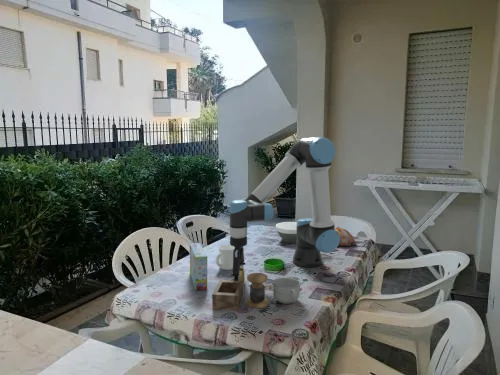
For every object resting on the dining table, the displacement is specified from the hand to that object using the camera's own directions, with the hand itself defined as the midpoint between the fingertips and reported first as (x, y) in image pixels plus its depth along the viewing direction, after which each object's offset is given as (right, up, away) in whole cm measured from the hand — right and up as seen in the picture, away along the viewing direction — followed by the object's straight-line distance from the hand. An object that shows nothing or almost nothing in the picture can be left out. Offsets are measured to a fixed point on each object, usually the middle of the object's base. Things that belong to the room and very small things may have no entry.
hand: (238, 284), depth 162 cm
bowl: (+31, +10, +67) cm, 74 cm away
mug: (-7, +2, +20) cm, 21 cm away
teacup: (+20, -3, -17) cm, 26 cm away
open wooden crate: (-4, -3, -16) cm, 17 cm away
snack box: (-19, 0, +4) cm, 19 cm away
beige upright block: (0, 0, 0) cm, 0 cm away
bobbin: (+8, -3, -18) cm, 20 cm away
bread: (+59, +9, +61) cm, 86 cm away
